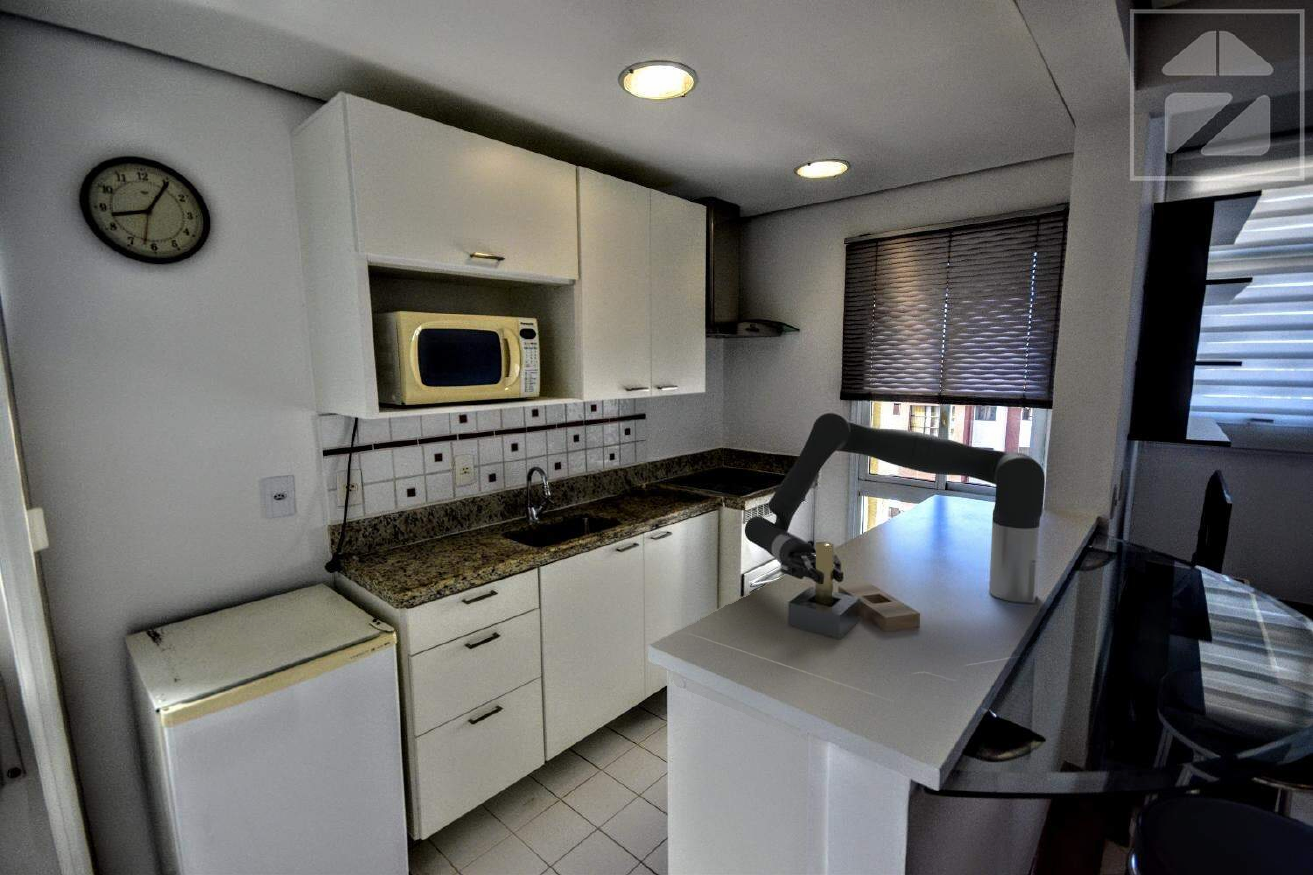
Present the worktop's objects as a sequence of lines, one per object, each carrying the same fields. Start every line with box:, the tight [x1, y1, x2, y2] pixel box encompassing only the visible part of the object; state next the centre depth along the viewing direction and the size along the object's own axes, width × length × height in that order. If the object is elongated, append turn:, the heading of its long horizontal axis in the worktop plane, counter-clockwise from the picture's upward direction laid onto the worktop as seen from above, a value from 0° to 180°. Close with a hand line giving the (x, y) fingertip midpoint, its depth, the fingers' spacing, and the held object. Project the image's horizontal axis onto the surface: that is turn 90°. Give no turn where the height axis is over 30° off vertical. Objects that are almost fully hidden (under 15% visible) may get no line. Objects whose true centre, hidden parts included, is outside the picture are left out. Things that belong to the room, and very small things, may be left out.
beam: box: [837, 582, 921, 633], centre depth 126 cm, size 18×8×3 cm, turn 13°
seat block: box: [787, 586, 860, 641], centre depth 121 cm, size 11×11×5 cm
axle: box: [814, 541, 835, 607], centre depth 120 cm, size 4×4×16 cm
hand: (831, 578), depth 117 cm, fingers open, 3 cm apart
